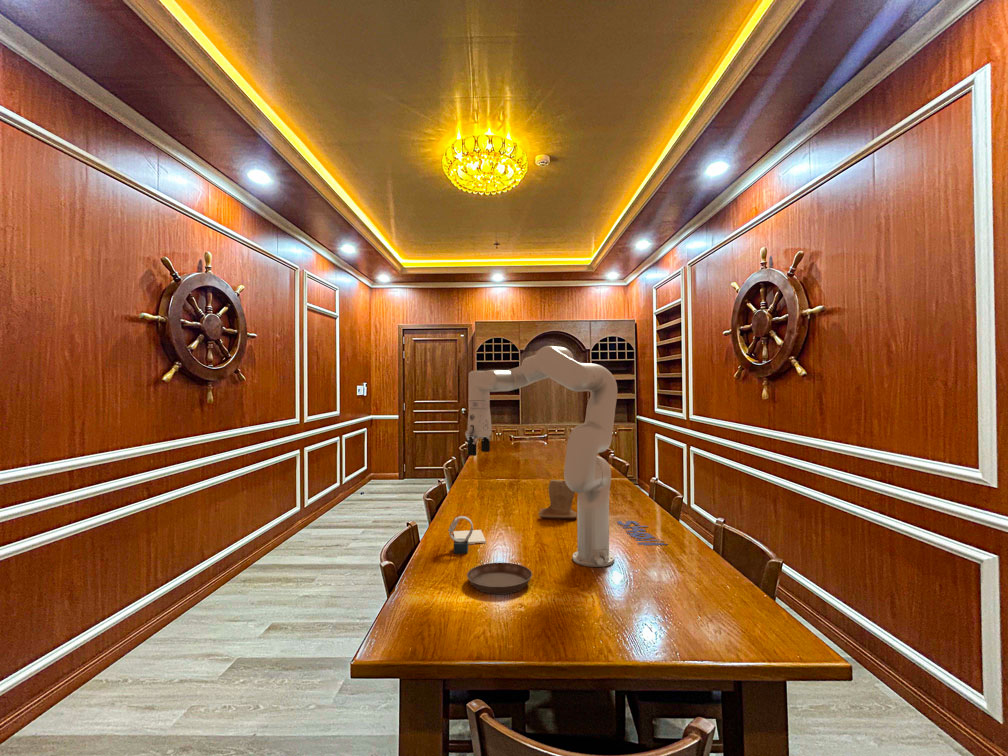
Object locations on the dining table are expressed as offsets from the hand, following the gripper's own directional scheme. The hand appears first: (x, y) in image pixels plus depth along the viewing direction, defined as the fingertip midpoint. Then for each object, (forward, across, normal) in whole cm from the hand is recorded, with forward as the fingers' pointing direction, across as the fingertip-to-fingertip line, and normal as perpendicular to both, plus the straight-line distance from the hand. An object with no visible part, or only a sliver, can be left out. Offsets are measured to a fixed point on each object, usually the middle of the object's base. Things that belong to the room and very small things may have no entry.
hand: (479, 453), depth 180 cm
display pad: (+29, -5, +1) cm, 29 cm away
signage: (+29, +28, -51) cm, 65 cm away
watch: (+29, -17, -3) cm, 34 cm away
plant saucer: (+29, -35, -26) cm, 52 cm away
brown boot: (+29, +34, -17) cm, 48 cm away
